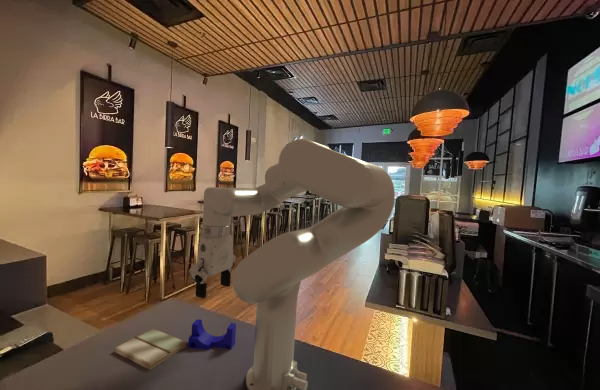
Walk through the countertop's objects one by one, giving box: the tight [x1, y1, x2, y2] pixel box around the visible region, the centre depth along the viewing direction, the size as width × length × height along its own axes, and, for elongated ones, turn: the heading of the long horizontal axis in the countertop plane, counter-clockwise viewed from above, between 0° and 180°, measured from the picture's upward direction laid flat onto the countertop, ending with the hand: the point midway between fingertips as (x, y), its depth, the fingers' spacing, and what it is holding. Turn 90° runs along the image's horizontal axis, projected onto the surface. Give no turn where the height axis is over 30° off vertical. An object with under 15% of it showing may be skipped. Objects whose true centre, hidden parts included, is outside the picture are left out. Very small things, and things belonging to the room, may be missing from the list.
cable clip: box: [187, 319, 237, 351], centre depth 76 cm, size 12×4×6 cm, turn 84°
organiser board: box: [114, 328, 187, 371], centre depth 73 cm, size 14×11×2 cm
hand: (213, 290), depth 75 cm, fingers open, 9 cm apart
